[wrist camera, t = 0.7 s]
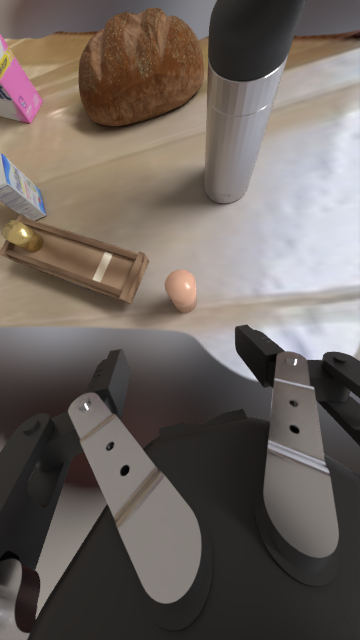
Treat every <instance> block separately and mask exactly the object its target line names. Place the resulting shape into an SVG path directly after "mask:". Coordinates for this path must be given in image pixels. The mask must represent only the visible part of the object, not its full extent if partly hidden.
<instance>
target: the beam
mask: <svg viewBox="0 0 360 640" xmlns="http://www.w3.org/2000/svg"><path fill="white" fill-rule="evenodd" d="M17 220H18V221H20V222H22V223H23V224H25V225H26V226H27V227H29V228H30V229H32V230H33V231H35V232H36V233H38V234H39V235H40V236H41V237H42V238H43V245H42V247H41V249H40V250H39V251H37V252H34V253H30V252H28V251H26V250H24V249H23V248H21V247H19V246H17V245H15V244H13V243H12V242H10V241H8V240H6V241H5V243H4V245H3V247H2V249H1V251H0V255H3V256H5V257H7V258H9V259H11V260H14V261H16V262H19V263H21V264H24V265H27V266H29V267H32V268H35V269H37V270H40V271H43V272H46V273H48V274H51V275H54V276H56V277H59V278H61V279H63V280H65V281H67V282H69V283H72V284H74V285H77V286H80V287H83V288H85V289H88V290H90V289H91V290H94V291H97V292H99V293H102V294H105V295H107V296H110V297H113V298H116V299H118V300H121V301H124V302H126V303H129V304H131V303H132V301H133V299H134V296H135V294H136V292H137V289H138V287H139V284H140V282H141V280H142V277H143V275H144V272H145V270H146V268H147V265H148V263H149V260H148V259H147V257H146V255H145V253H142V252H139V253H135V252H132V251H129V250H125V249H122V248H119V247H116V246H113V245H110V244H106V243H103V242H100V241H97V240H94V239H91V238H88V237H84V236H81V235H78V234H75V233H72V232H69V231H66V230H62V229H59V228H56V227H53V226H50V225H47V224H43V223H40V222H37V221H34V220H31V219H28V218H27V217H25V216H24V215H22V214H19V216H18V218H17Z"/></svg>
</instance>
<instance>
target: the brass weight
mask: <svg viewBox="0 0 360 640" xmlns="http://www.w3.org/2000/svg"><path fill="white" fill-rule="evenodd" d="M3 236H4V238H5V239H6V240H8V241H10V242H12V243H13V244H15V245H17V246H19V247H21V248H23V249H24V250H26V251H28V252H30V253H34V252H37V251H39V250H40V249H41V247H42V245H43V238H42V237H41V236H40V235H39V234H38V233H36V232H35V231H33V230H32V229H30V228H29V227H27V226H26V225H25V224H23V223H22V222H20V221H18V220H12V221H10V222H8V223H7V224H6V225H5V227H4V229H3Z"/></svg>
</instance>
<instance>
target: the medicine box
mask: <svg viewBox="0 0 360 640" xmlns="http://www.w3.org/2000/svg"><path fill="white" fill-rule="evenodd" d="M0 201H1V202H3V203H4V204H5V205H7V206H8V207H9V208H11V209H12V210H14V211H15V212H16V213H18V214H22V215H24V216H25V217H27V218H28V219H31V220H34V221H36V220H38V219H40V218H42V217H44V216H46V212H45V209H44V205H43V201H42V197H41V193H40V190H39V189H38V188H37V187H36V186H35V185H34V184H33V183H32V182H31V181H30V180H29V179H28V178H27V177H26V176H25V175H24V174H23V173H22V172H21V171H19V170H18V169H17V168H16V167H15V166H14V165H13V164H12V163H11V162H10V161H9V160H8V159H7V158H6V157H5V156H4V155H3V154H0Z"/></svg>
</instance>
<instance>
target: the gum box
mask: <svg viewBox="0 0 360 640" xmlns="http://www.w3.org/2000/svg"><path fill="white" fill-rule="evenodd" d="M42 102H43V100H42V99H41V97H40V96H39V94H38V92H37V91H36V89H35V88H34V86H33V85H32V83H31V82H30V80H29V78H28V77H27V75H26V74H25V72H24V71H23V69H22V67H21V66H20V64H19V62H18V61H17V59H16V58H15V56H14V55H13V53H12V52H11V50H10V49H9V47H8V45H7V44H6V42H5V41H4V39H3V38H2V36H1V34H0V116H1V117H5V118H10V119H13V120H17V121H22V122H26V123H31V122H32V120H33V118H34V117H35V115H36V113H37V112H38V110H39V108H40V106H41V104H42Z"/></svg>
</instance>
